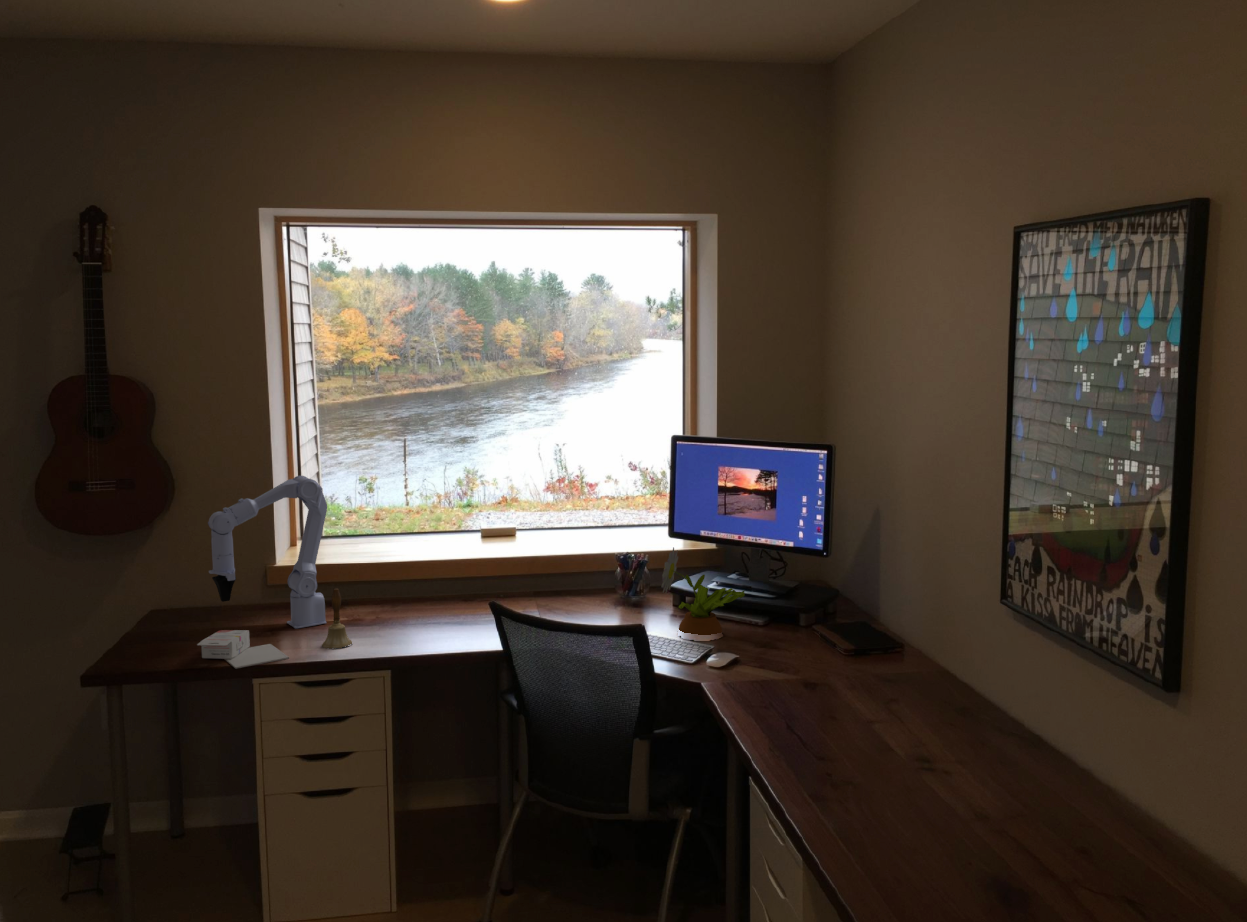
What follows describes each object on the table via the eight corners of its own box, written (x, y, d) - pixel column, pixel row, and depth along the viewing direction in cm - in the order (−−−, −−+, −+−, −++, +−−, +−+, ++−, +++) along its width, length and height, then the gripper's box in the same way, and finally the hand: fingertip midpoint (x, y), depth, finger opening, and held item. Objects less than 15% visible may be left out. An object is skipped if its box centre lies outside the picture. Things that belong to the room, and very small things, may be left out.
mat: (270, 645, 293) (270, 643, 293) (289, 658, 281) (288, 657, 281) (218, 654, 285) (218, 653, 285) (235, 668, 273) (235, 667, 273)
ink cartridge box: (220, 647, 291) (195, 662, 277) (219, 629, 291) (194, 643, 276) (250, 647, 291) (227, 662, 276) (249, 629, 290) (226, 643, 276)
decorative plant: (675, 620, 316) (676, 538, 313) (754, 627, 308) (755, 543, 305) (647, 645, 291) (647, 557, 288) (733, 654, 283) (733, 563, 280)
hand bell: (337, 638, 299) (335, 584, 297) (359, 643, 295) (356, 587, 293) (315, 646, 292) (313, 590, 290) (337, 651, 288) (334, 594, 286)
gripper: (201, 551, 302) (203, 597, 304) (215, 560, 291) (218, 608, 293) (226, 548, 307) (228, 594, 308) (241, 556, 295) (244, 604, 297)
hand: (225, 600), depth 301 cm, fingers closed
